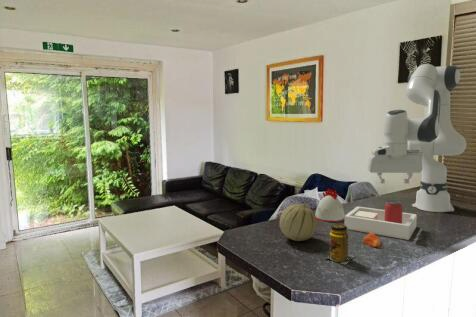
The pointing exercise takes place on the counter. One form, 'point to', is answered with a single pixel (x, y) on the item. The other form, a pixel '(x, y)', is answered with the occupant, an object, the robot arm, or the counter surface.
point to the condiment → (339, 244)
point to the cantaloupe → (298, 222)
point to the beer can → (393, 211)
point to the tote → (381, 223)
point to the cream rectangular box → (367, 215)
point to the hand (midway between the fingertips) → (394, 183)
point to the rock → (372, 240)
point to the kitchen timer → (330, 208)
